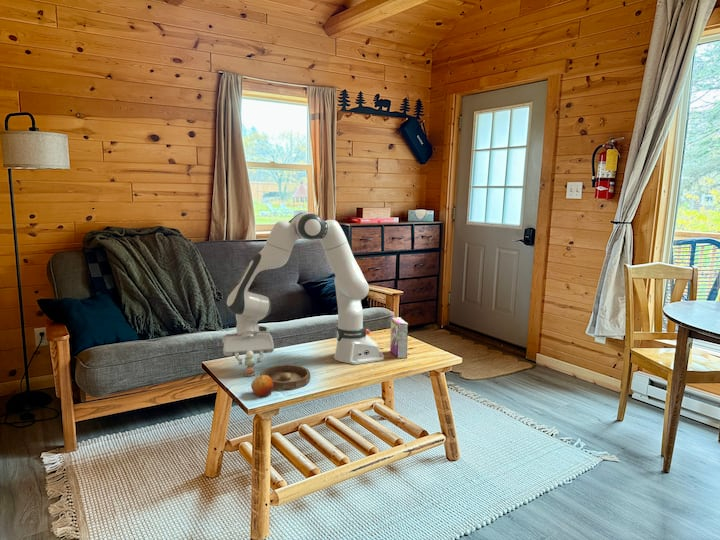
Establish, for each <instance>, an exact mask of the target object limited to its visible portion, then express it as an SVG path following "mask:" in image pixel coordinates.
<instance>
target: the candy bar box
mask: <svg viewBox="0 0 720 540" xmlns="http://www.w3.org/2000/svg"><path fill="white" fill-rule="evenodd" d="M408 330H409V323H408V322H407V321H405V320H404V319H403V318H402V317H390V350H389V351H390V353H391V354H393V356H395V357H396V359H398V360H399V359H408V340H409V339H408V336H409V335H408V334H409V331H408Z"/></svg>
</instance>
